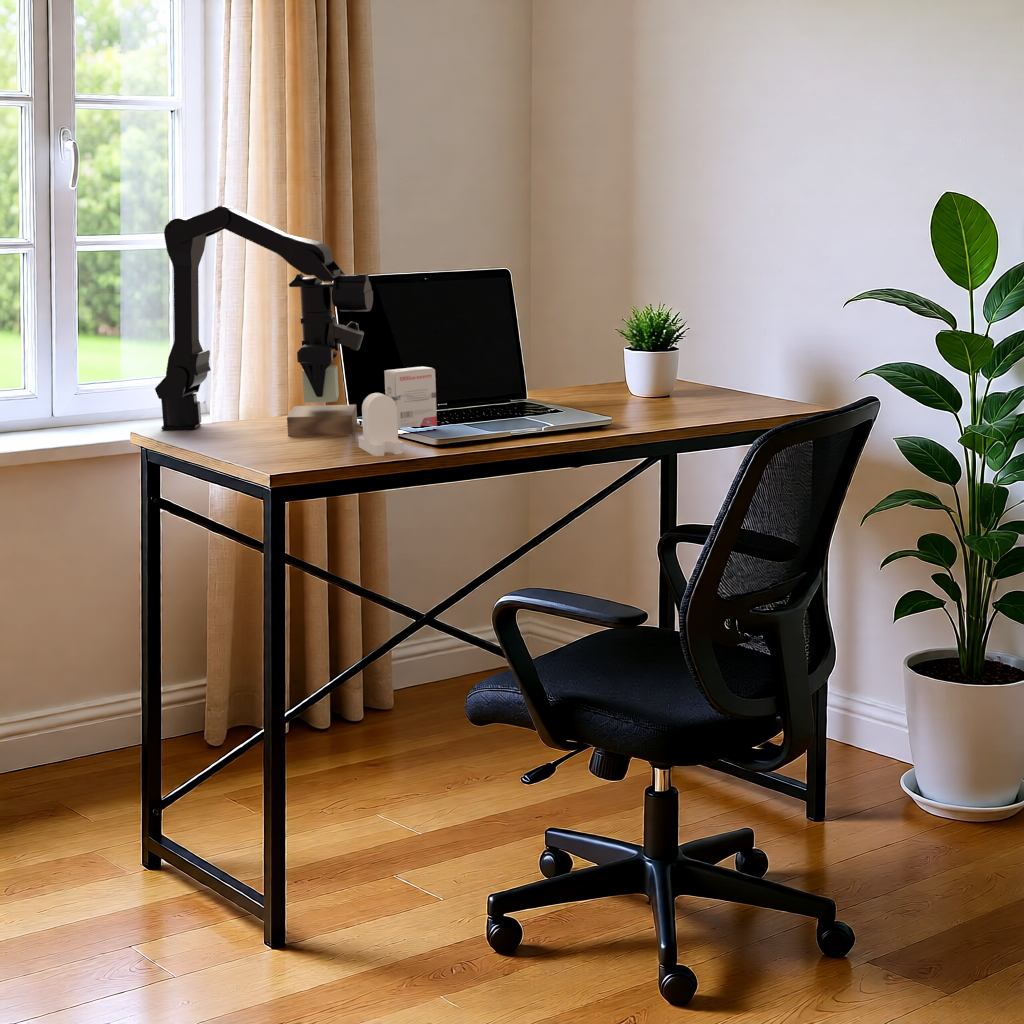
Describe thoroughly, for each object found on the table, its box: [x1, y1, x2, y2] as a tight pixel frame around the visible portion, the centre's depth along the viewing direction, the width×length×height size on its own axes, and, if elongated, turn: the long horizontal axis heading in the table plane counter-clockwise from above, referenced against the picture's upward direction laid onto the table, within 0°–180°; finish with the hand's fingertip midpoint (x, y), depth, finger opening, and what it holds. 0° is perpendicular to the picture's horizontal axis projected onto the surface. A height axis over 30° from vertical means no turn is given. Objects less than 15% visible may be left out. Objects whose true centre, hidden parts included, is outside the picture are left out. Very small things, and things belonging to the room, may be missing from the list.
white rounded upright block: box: [357, 392, 404, 457], centre depth 243 cm, size 5×10×10 cm, turn 24°
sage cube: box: [302, 364, 340, 404], centre depth 263 cm, size 6×6×6 cm
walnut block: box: [286, 403, 358, 437], centre depth 264 cm, size 12×12×4 cm
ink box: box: [383, 365, 438, 429], centre depth 260 cm, size 9×5×12 cm, turn 121°
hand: (321, 394), depth 263 cm, fingers closed on sage cube, 6 cm apart
